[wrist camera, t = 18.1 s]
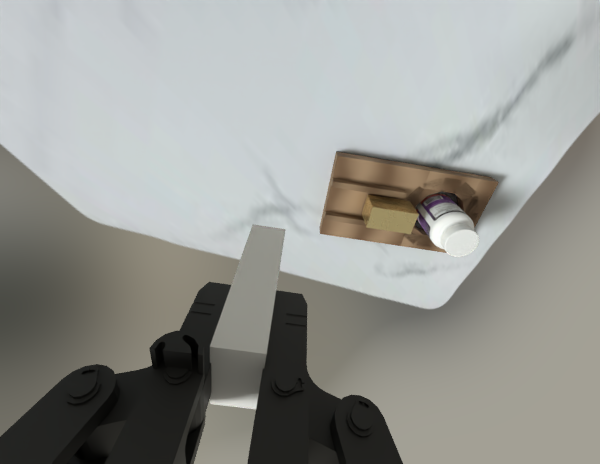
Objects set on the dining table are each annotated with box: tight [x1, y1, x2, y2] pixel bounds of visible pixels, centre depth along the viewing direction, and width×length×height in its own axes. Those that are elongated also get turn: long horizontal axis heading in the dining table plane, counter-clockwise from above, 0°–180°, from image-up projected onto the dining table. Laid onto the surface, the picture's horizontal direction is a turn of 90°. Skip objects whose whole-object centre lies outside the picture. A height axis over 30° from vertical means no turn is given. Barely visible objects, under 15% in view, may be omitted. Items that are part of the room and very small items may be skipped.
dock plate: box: [320, 152, 499, 253], centre depth 42 cm, size 22×12×3 cm, turn 81°
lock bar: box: [362, 194, 419, 234], centre depth 39 cm, size 6×3×4 cm, turn 81°
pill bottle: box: [415, 193, 479, 257], centre depth 39 cm, size 5×5×10 cm
